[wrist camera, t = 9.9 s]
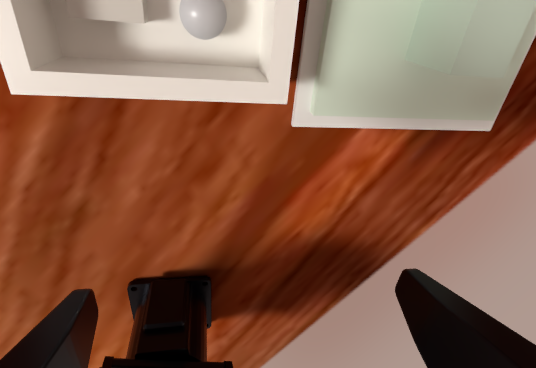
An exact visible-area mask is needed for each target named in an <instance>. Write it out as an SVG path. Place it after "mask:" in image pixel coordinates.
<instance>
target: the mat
mask: <svg viewBox="0 0 536 368" xmlns="http://www.w3.org/2000/svg"><path fill="white" fill-rule="evenodd" d="M326 5H327V0H307V7H306V15H305V22H304V30H303V38H302V45H301V53H300V60H299V68H298V76H297V83H296V91H295V99H294V106H293V114H292V122H291V125H292V126H293V127H334V128H378V129H422V130H467V131H490V130H491V128H492V126H493V124H494V122H495V120H496V117H497V115H498V113H499V111H500V109H501V107H502V105H503V103H504V101H505V99H506V97H507V94H508V92H509V90H510V88H511V86H512V84H513V82H514V80H515V78H516V76H517V73H518V71H519V69H520V67H521V65H522V63H523V61H524V59H525V57H526V55H527V53H528V50H529V48H530V46H531V44H532V42H533V40H534V38H535V36H536V32H535V34H534V36H533V38H532V40H531V42H530V44H529V46H528V48H527V51H526V53H525V55H524V57H523V59H522V61H521V63H520V65H519V67H518V70H517V72H516V74H515V76H514V78H513V80H512V82H511V84H510V86H509V89H508V91H507V93H506V95H505V97H504V99H503V101H502V103H501V106H500V108H499V110H498V112H497V114H496V116H495V118H494V120H493V121H485V120H450V119H415V118H379V117H344V116H313V115H312V113H311V112H310V106H311V100H312V94H313V87H314V81H315V75H316V68H317V62H318V55H319V49H320V43H321V36H322V30H323V24H324V17H325V11H326Z"/></svg>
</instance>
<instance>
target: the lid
mask: <svg viewBox="0 0 536 368" xmlns="http://www.w3.org/2000/svg"><path fill="white" fill-rule="evenodd" d="M535 32H536V0H327V5H326V11H325V17H324V24H323V30H322V36H321V43H320V49H319V55H318V62H317V68H316V75H315V81H314V87H313V94H312V100H311V106H310V112H311V113H312V115H313V116H344V117H379V118H415V119H450V120H485V121H493V120H494V118H495V116H496V114H497V112H498V110H499V108H500V106H501V103H502V101H503V99H504V97H505V95H506V93H507V91H508V89H509V86H510V84H511V82H512V80H513V78H514V76H515V74H516V72H517V70H518V67H519V65H520V63H521V61H522V59H523V57H524V55H525V53H526V51H527V48H528V46H529V44H530V42H531V40H532V38H533V36H534V34H535Z"/></svg>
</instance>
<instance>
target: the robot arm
mask: <svg viewBox="0 0 536 368" xmlns="http://www.w3.org/2000/svg"><path fill="white" fill-rule="evenodd" d="M127 290H128V295H129V300H130V305H131V309H132V314H133V319H134V324H133V328H132V333H131V337H130V342H129V347H128V351H127V356H126V359H122V358H114V357H110V356H105V359H104V362H103V366H102V367H99V368H233V365H232V361H224V362H207V328H210V327H211V278H210V277H208V276H196V277H182V278H167V279H152V280H138V281H131V282H130V283H129V284H128V288H127ZM395 293H396V296H397V299H398V301H399V304H400V306H401V309H402V311H403V314H404V317H405V319H406V322H407V324H408V327H409V330H410V332H411V334H412V337H413V339H414V342H415V344H416V346H417V348H418V350H419V352H420V354H421V356H422V358H423V360H424V362H425V364H426V366H427V368H536V345H535V344H533V343H532V342H530V341H528V340H527V339H525V338H524V337H522V336H521V335H519V334H518V333H516V332H514V331H513V330H511V329H510V328H508V327H507V326H505V325H504V324H502V323H501V322H499V321H497V320H496V319H494V318H493V317H491V316H490V315H488V314H487V313H485V312H483V311H482V310H480V309H479V308H477V307H476V306H474V305H473V304H471V303H469V302H468V301H466V300H465V299H463V298H462V297H460V296H458V295H457V294H455V293H454V292H452V291H451V290H449V289H448V288H446V287H445V286H443V285H441V284H440V283H438V282H437V281H435V280H434V279H432V278H431V277H429V276H427V275H426V274H424V273H423V272H421V271H420V270H418V269H405V270H403V271H402V273H401V275H400V277H399V280H398V282H397V284H396V287H395ZM97 320H98V307H97V303H96V299H95V295H94V292H93V290H92V289H77V290H74V291H72V292H71V293H70V294H69V295H68V296H67V297H66V298H65V299H64V300H63V301H62V302H61V303H60V304H59V305H58V306H57V307H55V308H54V309H53V310H52V311H51V312H50V313H49V314H48V315H47V316H46V317H45V318H44V319H43V320H42V321H41V322H40V323H39V324H38V325H37V326H35V327H34V328H33V329H32V330H31V331H30V332H29V333H28V334H27V335H26V336H25V337H24V338H23V339H22V340H21V341H20V342H19V343H18V344H17V345H15V346H14V347H13V348H12V349H11V350H10V351H9V352H8V353H7V354H6V355H5V356H4V357H3V358H2V359H1V360H0V368H88V363H89V359H90V354H91V349H92V344H93V339H94V334H95V330H96V325H97Z"/></svg>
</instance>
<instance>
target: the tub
mask: <svg viewBox="0 0 536 368" xmlns="http://www.w3.org/2000/svg"><path fill="white" fill-rule="evenodd" d="M298 7H299V0H0V62H1V65H2V68H3V71H4V74H5V77H6V80H7V83H8V86H9V89H10V92H11V94H22V95H49V96H77V97H104V98H131V99H159V100H186V101H213V102H241V103H268V104H287V99H288V91H289V82H290V74H291V65H292V57H293V49H294V40H295V32H296V24H297V15H298Z"/></svg>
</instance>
